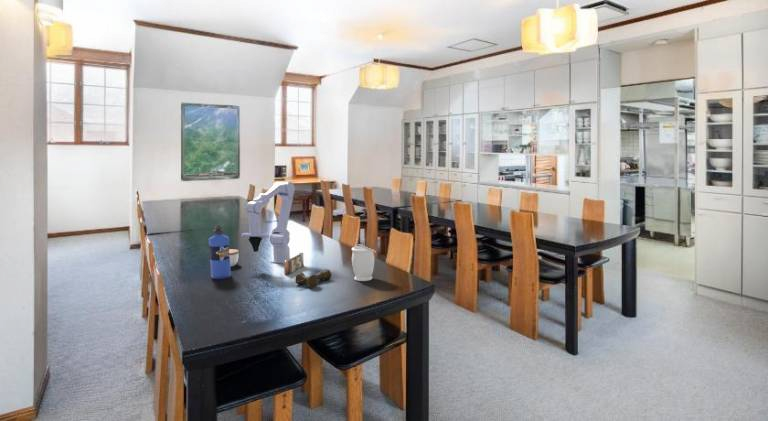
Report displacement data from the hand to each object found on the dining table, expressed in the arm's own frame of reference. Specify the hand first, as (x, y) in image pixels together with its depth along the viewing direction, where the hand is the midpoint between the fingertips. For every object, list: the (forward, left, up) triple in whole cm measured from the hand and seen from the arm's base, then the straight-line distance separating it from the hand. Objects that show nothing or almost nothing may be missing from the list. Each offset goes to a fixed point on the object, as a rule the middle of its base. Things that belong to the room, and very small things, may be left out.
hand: (255, 251), depth 231 cm
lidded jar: (-4, -19, -10) cm, 22 cm away
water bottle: (+16, -10, -10) cm, 21 cm away
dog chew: (+18, +39, -10) cm, 44 cm away
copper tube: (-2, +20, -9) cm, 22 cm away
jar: (+5, +59, -10) cm, 60 cm away
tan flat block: (-3, +20, -9) cm, 22 cm away
